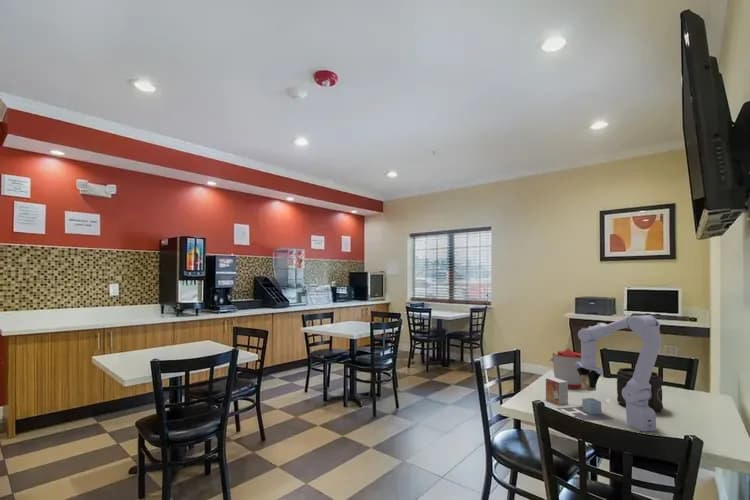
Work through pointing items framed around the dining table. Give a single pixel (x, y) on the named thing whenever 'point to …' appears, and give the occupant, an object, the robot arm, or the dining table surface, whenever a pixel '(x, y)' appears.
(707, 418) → the dining table surface
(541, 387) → the dining table surface
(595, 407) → the blue cube
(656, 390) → the wooden barrel
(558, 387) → the small box
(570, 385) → the citrus juicer
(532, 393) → the dining table surface
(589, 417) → the letter mat
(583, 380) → the maple block
